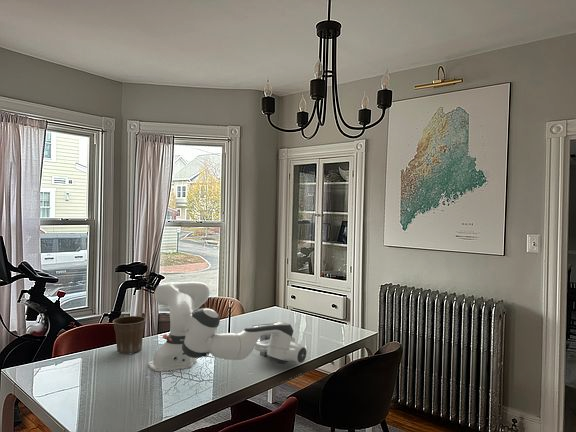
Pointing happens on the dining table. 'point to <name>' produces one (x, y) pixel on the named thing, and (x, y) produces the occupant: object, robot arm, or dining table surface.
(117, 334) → the plant pot
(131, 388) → the dining table surface
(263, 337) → the post
